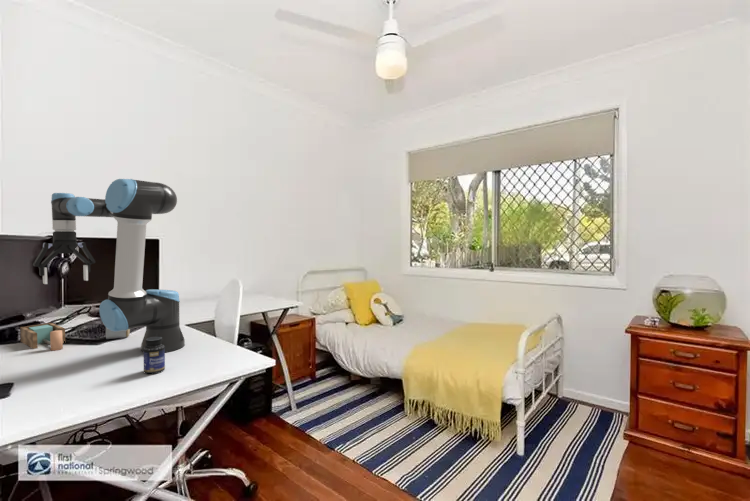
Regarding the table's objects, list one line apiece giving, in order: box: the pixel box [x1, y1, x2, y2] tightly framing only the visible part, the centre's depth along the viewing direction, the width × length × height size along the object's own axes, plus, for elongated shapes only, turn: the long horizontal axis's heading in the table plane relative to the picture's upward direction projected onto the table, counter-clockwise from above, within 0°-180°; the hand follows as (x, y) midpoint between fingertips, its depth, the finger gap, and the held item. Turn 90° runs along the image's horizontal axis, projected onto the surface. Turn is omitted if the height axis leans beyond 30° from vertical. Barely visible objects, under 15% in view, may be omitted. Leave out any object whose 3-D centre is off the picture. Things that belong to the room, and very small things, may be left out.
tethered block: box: [29, 325, 64, 352], centre depth 152 cm, size 22×6×7 cm, turn 56°
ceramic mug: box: [105, 327, 131, 340], centre depth 164 cm, size 11×8×8 cm
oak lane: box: [19, 322, 66, 350], centre depth 155 cm, size 16×10×6 cm, turn 56°
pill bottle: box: [142, 337, 166, 374], centre depth 125 cm, size 6×6×11 cm
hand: (66, 282), depth 157 cm, fingers open, 13 cm apart
